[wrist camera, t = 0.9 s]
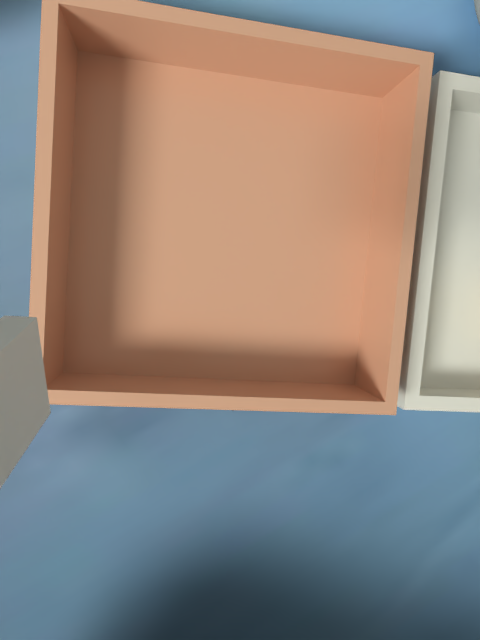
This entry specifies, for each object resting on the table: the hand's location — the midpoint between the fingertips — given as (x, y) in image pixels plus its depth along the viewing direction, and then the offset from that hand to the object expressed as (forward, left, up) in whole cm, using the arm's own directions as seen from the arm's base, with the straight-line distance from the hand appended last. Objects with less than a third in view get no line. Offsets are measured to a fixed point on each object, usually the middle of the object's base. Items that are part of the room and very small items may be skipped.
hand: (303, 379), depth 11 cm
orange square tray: (+6, 0, -19) cm, 20 cm away
